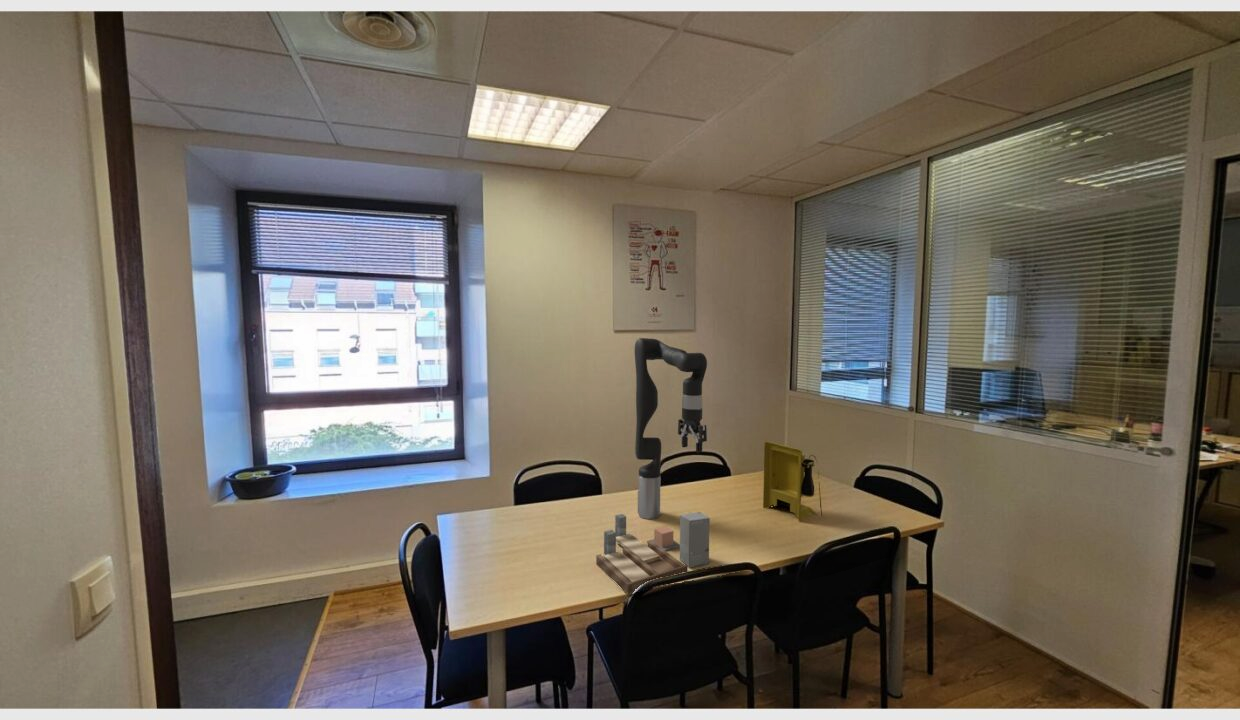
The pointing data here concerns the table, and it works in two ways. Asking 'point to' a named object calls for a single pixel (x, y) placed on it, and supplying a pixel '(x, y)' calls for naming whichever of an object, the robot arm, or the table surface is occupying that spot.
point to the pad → (674, 545)
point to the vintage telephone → (787, 478)
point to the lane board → (643, 568)
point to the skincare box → (694, 539)
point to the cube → (663, 536)
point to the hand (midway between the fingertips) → (691, 449)
